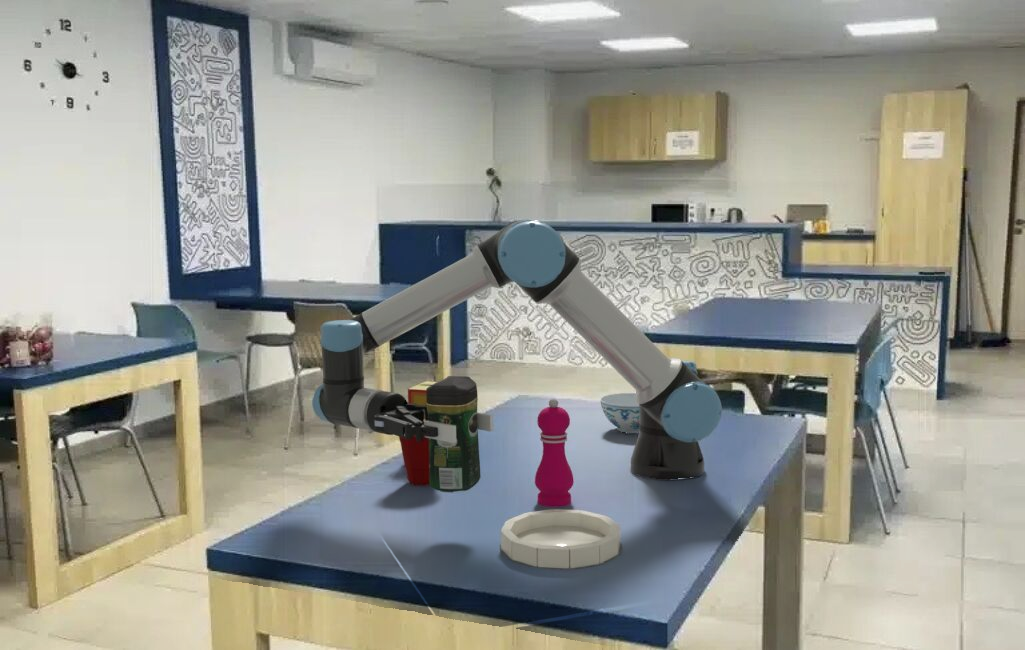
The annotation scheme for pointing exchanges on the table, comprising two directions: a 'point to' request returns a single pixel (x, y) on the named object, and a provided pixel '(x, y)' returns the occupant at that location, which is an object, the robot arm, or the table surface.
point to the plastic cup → (416, 460)
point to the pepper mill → (554, 458)
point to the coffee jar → (457, 460)
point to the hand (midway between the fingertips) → (473, 428)
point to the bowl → (560, 538)
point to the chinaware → (622, 411)
